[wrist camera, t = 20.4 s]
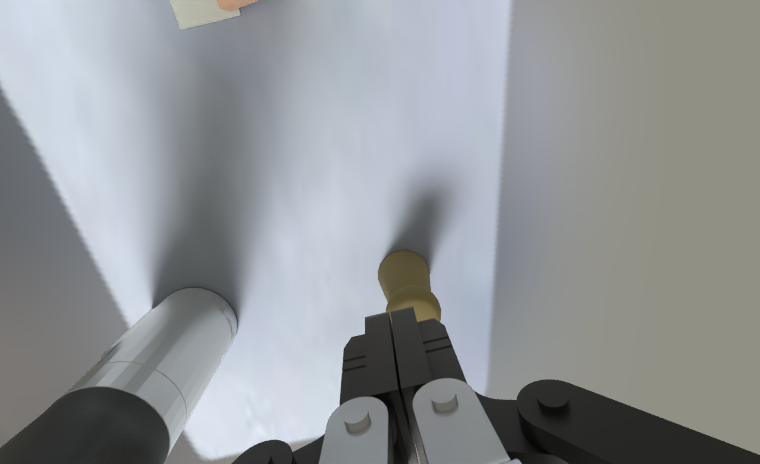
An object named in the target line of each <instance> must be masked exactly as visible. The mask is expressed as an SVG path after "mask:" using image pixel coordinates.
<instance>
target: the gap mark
mask: <svg viewBox="0 0 760 464" xmlns="http://www.w3.org/2000/svg"><path fill="white" fill-rule="evenodd" d="M170 3H171V6H172V9H173V11H174V14H175V17H176V20H177V23H178V26H179V29H180V30H184V29H188V28H192V27H196V26H200V25H204V24H208V23H212V22H216V21H220V20H224V19H228V18H232V17H236V16H240V15H241V13H240V10H239V9H236V10H234V11H231V12H229V11H226V10H223V9H220V8H219V6H218V3H217V1H216V0H170Z"/></svg>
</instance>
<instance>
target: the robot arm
mask: <svg viewBox="0 0 760 464" xmlns="http://www.w3.org/2000/svg"><path fill="white" fill-rule="evenodd" d="M390 314H391V319H390V315H389V312H386V313H381V314H377V315H373V316H369V317H365V334H363V335H359V336H355V337H351V339H350V340H349V342H348V343H347V345H346V346H345V348H344V354H343V367H342V371H343V373H342V380H341V393H340V406H339V407H338V408H337V409H336V410H335V411H334V412H333V413H332V414H331V416H330V418H329V420H328V422H327V426H326V431H325V434H324V435H323V436H321V437H320V438H319V439H317V440H315V441H314V442H312V443H310V444H308V445H306V446H304V447H302V448H300V449H298V450H296V451H294V452H292V450H291V448H290V446H289V445H288V444H287V443H285V442H283V441H281V440H269V441H264V442H261V443H259V444H256V445H254V446H253V447H251V448H249V449H248V450H246V451H245V452H244V453H242V454H241V455H240V456H239V457H238V458H237V459H236V460H235V461H234V462H233V463H232V464H418V459H417V452H416V447H417V451H418V455H419V459H420V463H421V464H760V455H758V454H755V453H753V452H750V451H748V450H745V449H742V448H740V447H737V446H734V445H732V444H729V443H726V442H724V441H721V440H718V439H716V438H713V437H710V436H708V435H705V434H702V433H700V432H697V431H695V430H692V429H689V428H687V427H684V426H681V425H679V424H676V423H673V422H671V421H668V420H665V419H663V418H660V417H658V416H655V415H652V414H650V413H647V412H644V411H642V410H639V409H636V408H634V407H631V406H628V405H626V404H623V403H621V402H618V401H615V400H613V399H610V398H607V397H605V396H602V395H599V394H597V393H594V392H591V391H589V390H586V389H583V388H581V387H578V386H575V385H573V384H570V383H567V382H564V381H559V380H540V381H535V382H533V383H530V384H528V385H527V386H525V387H524V388H523V389H522V390H521V391H520V392H519V394H518V396H517V400H499V399H491V398H488V397H485V396H482V395H480V394H478V393H477V392H475V391H474V390H473V389H472V388H471V387H470V386H469V385H468V384H467V382H466V379H465V377H464V374H463V372H462V369H461V367H460V364H459V361H458V359H457V356H456V354H455V351H454V349H453V347H452V344H451V341H450V338H449V336H448V333H447V331H446V328H445V326H444V325H443V324H442V323H440V322H439V321H437V320H436V319H435V318H432V319H428V320H424V321H419V322H417V319H416V315H415V311H414V308H413V306H411V307H407V308H403V309H398V310H394V311H390ZM391 321H392V323H391ZM236 331H237V320H236V316H235V313H234V311H233V310H232V308H231V306H230V305H229V304H228V303H227V301H225V300H224V299H223V298H222V297H221V296H219V295H217V294H216V293H214V292H212V291H209V290H206V289H202V288H185V289H181V290H178V291H176V292H174V293H171V294H170V295H169V296H168V297H167V298H165V299H164V300H163V301H162V302H161V303H160V304H159V305H158V306H157V307H156V308H152V309H151V310H150V311H149V312H148V313H146V314H145V315H144V316H143V317H142V318H141V319H140V320H139V321H138V322H137V323H136V324H135V325H133V326H132V327H131V328H130V329H129V330H128V331H127V332H126V333H125V334H124V335H123V336H122V337H121V338H119V339H118V340H117V341H116V342H115V343H114V344H113V345H112V346H111V347H110V348H109V349H108V350H107V351H105V352H104V353H103V354H102V356H101V359H100V360H99V361H98V362H97V363H96V364H95V365H94V366H93V367H92V368H91V369H90V370H89V371H88V372H87V373H86V374H85V375H84V376H82V377H81V378H80V379H79V380H78V381H77V382H76V383H75V384H74V385H73V386H72V387H71V388H70V389H69V390H68V391H67V392H65V393H64V394H63V395H62V396H61V397H60V398H59V399H58V400H57V401H56V402H54V403H53V404H52V405H51V407H49V408H48V409H47V410H46V411H45V412H44V413H43V414H42V415H40V416H39V417H38V418H37V419H36V420H34V421H33V422H32V423H30V424H29V425H28V426H27V427H25V428H24V429H23V430H22V431H21V432H19V433H18V434H17V435H15V436H14V437H13V438H12V439H10V440H9V441H8V442H7V443H6V444H5V445H3V446H2V447H1V448H0V464H163V463H164V462H165V460H166V458H167V456H168V455H169V453H170V451H171V449H172V448H173V446H174V444H175V442H176V441H177V439H178V437H179V435H180V434H181V432H182V430H183V428H184V426H185V424H186V423H187V421H188V419H189V417H190V416H191V414H192V412H193V410H194V409H195V407H196V405H197V403H198V402H199V400H200V398H201V396H202V395H203V393H204V391H205V389H206V388H207V386H208V384H209V382H210V380H211V379H212V377H213V375H214V373H215V372H216V370H217V368H218V366H219V365H220V363H221V361H222V359H223V358H224V356H225V354H226V352H227V351H228V349H229V347H230V345H231V343H232V342H233V340H234V338H235V336H236ZM415 444H416V446H415Z"/></svg>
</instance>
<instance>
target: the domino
mask: <svg viewBox="0 0 760 464" xmlns="http://www.w3.org/2000/svg"><path fill="white" fill-rule="evenodd" d="M216 1H217V3H218V6H219V8H220V9H223V10H226V11H229V12H231V11H234V10H236V9H239V8H241V7H244V6H246V5H249V4H251V3H254V2H256V1H259V0H216Z"/></svg>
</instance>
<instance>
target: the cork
mask: <svg viewBox="0 0 760 464" xmlns="http://www.w3.org/2000/svg"><path fill="white" fill-rule="evenodd" d="M378 280H379V283H380V285H381V288H382V290H383V292H384V295H385V297H386V299H387V301H388V304H387V307H386V312H389V315H390V319H391V314H390V311H394V310H398V309H403V308H407V307H411V306H413V308H414V311H415V315H416V319H417V322H419V321H424V320H428V319H432V318H435V319H436V320H437V321H439V322H440V320H441V308H440V305H439V302H438V300H437V298H436V297H435V296H434V294H433V293H432V292H431V288H430V276H429V269H428V266H427V263H426V261H425V260H424V259H423V258H422V257H421V256H420V255H418V254H417V253H415V252H412V251H408V250H403V251H397V252H394V253H391V254H390V255H389V256H387V257H386V258H385V259H384V260H383V261H382V263H381V264H380V267H379V270H378ZM391 323H392V321H391Z"/></svg>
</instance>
